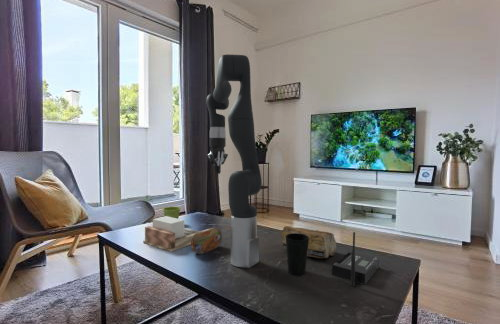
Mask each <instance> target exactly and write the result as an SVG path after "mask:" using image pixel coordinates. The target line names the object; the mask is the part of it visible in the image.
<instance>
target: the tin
mask: <svg viewBox="0 0 500 324" xmlns="http://www.w3.org/2000/svg"><path fill="white" fill-rule="evenodd" d="M222 237H223V234H222V232H221V230H220V229H219V228H217V227H209V228H207V229H203V231H202V230H200V232H197V233H196V234H194V236H193V237H192V239H191V245H190V248H191V251H192V252H194V253H196V254H198V255H203V254H205V253H208V252H211V251H213V250H215V249H217V248H218V247H219V246H220V244H221V242H222Z"/></svg>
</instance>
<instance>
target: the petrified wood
mask: <svg viewBox="0 0 500 324" xmlns="http://www.w3.org/2000/svg"><path fill="white" fill-rule="evenodd" d="M281 231H282V232H281V234H280V235H281V239H282V240H281V246H282V247H283V248H284V249H286V250H287V248H286V235H288V234H292V233H298V234H304V235H307V236H308V237H309V243H308V252H307V257H311V258H316V259H328V258H329V256H334V255H335V253H336V250H337V241H336V239H335V234H334V233H332V232H329V231H321V230H317V229H315V230H314V229H309V228H304V227H295V226H293V227H292V226H287V225H285V226H284V227H283V229H282V230H281Z"/></svg>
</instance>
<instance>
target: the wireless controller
mask: <svg viewBox="0 0 500 324" xmlns="http://www.w3.org/2000/svg"><path fill="white" fill-rule="evenodd" d="M331 267H332V268H331V275H332V276H334V275H335V277H337V276H338V278H340V277H342V278H341V279H344V278H345V279H344V280H347V279H349V280H348V281H350V280H351V281H350V287H351V288H353V287H354V286H356V285H357V284H360V283H363V284H365V283H366V282H367V281H368V280H370V279H371V278H372V277H373V276H372V274H373V273H374V272H375V271H376V270H377V268H378V267H379V268H380V258H379V257H375V256H371V255H368V254H364V253H363V254H362V253H359V252H356V232H355V231H353V233H352V251H351V250H349V251H348V252H347V253H346V254H345V255H343V257H341V258H340V259H338V260H337V261H336V262H334V263H332V265H331ZM379 268H378V269H379ZM377 271H378V270H377ZM377 271H376V272H377ZM376 272H375V273H376ZM375 273H374V274H375ZM374 274H373V275H374ZM371 276H372V277H371ZM370 277H371V278H370ZM369 278H370V279H369ZM357 282H359V283H357ZM368 282H369V281H368ZM368 282H367V283H368ZM367 283H366V284H367ZM363 284H362V285H363ZM366 284H365V285H366ZM354 288H355V287H354Z"/></svg>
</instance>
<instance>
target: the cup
mask: <svg viewBox="0 0 500 324" xmlns="http://www.w3.org/2000/svg"><path fill="white" fill-rule="evenodd" d="M308 243H309V237H308V236H307V235H304V234H298V233H292V234H288V235H286V248H287V249H286V248H285V249H286V258H287V260H286V261H287V271H288V274H290V275H292V276H295V277H301V276H304V275H305V273H306V268H307V266H306V265H307V258H308V256H307V252H308Z"/></svg>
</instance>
